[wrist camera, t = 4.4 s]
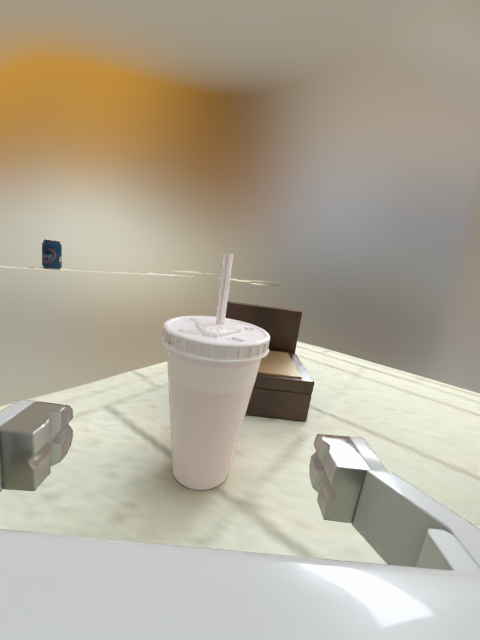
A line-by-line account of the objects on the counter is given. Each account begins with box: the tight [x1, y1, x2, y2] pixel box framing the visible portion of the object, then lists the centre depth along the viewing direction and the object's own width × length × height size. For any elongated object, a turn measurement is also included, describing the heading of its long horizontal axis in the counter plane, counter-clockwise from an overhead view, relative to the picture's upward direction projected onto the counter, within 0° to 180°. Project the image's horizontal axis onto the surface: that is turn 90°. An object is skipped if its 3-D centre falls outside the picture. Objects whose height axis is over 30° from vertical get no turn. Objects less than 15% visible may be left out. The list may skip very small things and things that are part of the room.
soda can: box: [42, 240, 62, 269], centre depth 119 cm, size 7×7×12 cm
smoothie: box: [161, 253, 270, 490], centre depth 17 cm, size 6×6×14 cm
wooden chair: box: [225, 301, 314, 421], centre depth 29 cm, size 9×9×9 cm
